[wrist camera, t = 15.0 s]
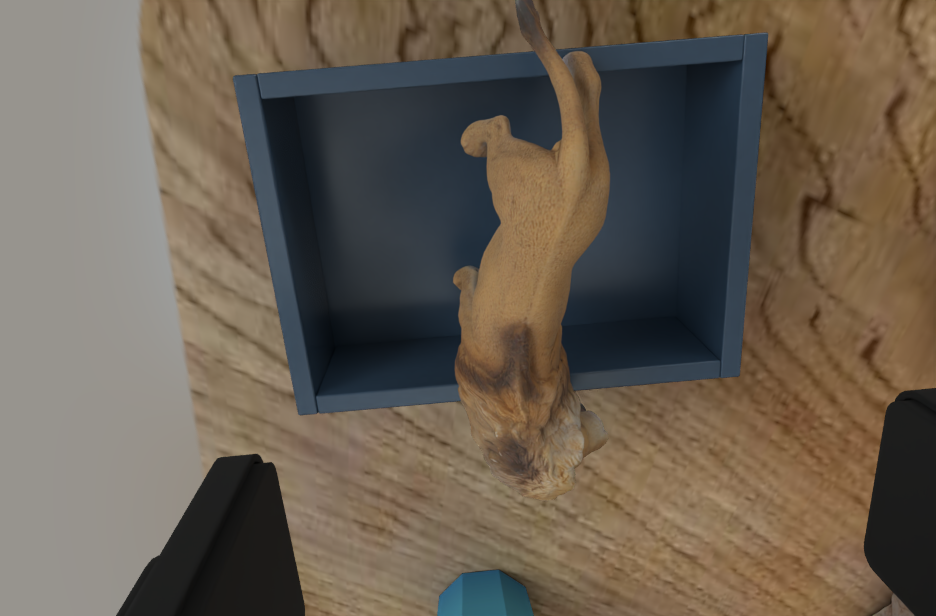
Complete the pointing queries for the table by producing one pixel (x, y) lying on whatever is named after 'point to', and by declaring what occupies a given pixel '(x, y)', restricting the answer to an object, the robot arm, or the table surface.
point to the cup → (485, 596)
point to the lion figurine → (533, 283)
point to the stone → (895, 609)
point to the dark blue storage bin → (475, 219)
